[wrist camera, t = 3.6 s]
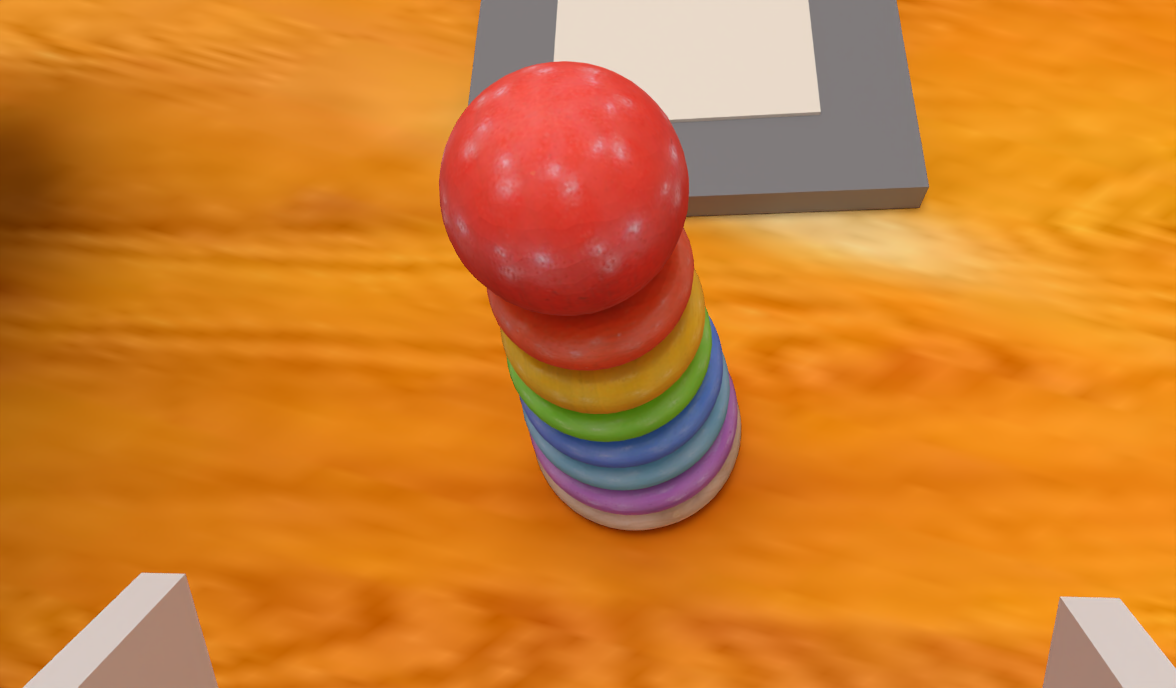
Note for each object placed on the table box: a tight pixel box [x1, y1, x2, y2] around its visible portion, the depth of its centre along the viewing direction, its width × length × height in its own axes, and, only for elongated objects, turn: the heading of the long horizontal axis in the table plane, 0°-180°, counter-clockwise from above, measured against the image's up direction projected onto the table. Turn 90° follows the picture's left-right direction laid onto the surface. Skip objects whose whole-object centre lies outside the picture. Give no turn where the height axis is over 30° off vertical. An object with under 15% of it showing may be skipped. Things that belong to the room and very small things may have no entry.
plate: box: [468, 0, 929, 216], centre depth 38 cm, size 20×20×2 cm
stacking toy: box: [439, 61, 741, 530], centre depth 22 cm, size 8×8×19 cm
